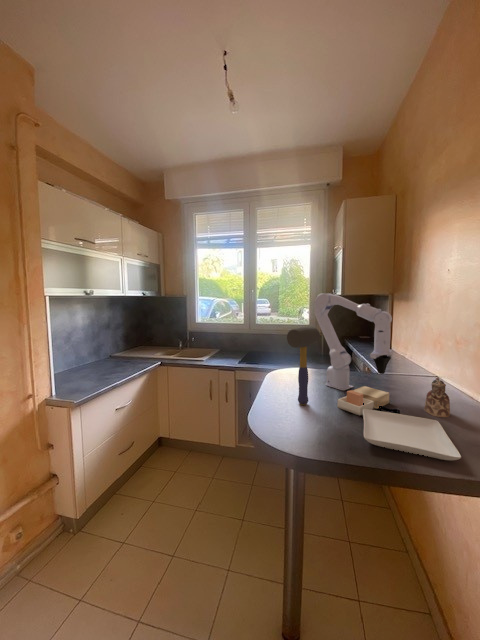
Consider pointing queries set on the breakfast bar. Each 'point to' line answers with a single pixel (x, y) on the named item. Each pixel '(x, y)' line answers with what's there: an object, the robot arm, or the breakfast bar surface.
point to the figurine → (437, 400)
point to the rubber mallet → (303, 355)
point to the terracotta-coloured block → (355, 398)
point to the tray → (353, 408)
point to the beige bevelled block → (374, 396)
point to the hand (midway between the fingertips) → (381, 373)
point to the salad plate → (408, 434)
